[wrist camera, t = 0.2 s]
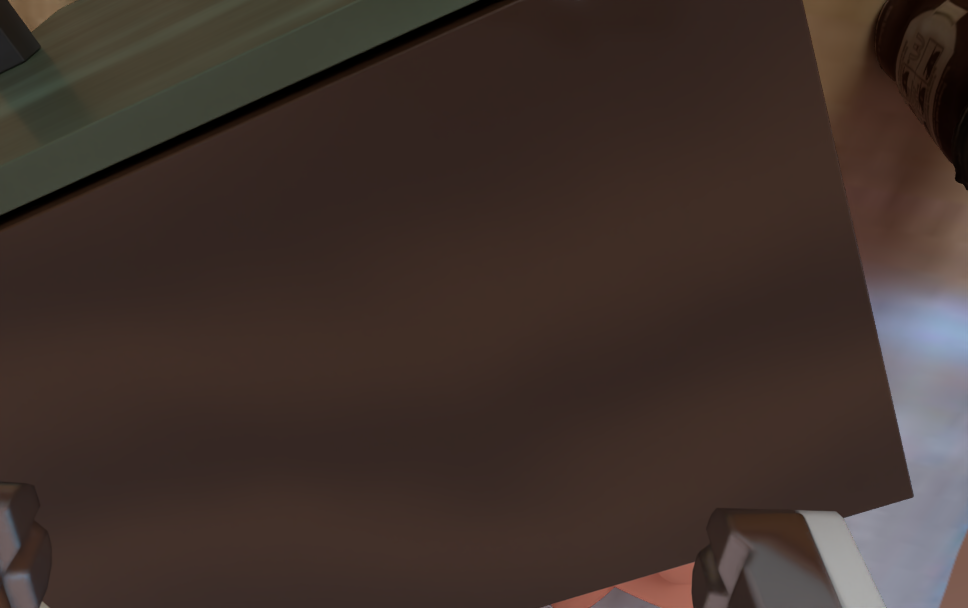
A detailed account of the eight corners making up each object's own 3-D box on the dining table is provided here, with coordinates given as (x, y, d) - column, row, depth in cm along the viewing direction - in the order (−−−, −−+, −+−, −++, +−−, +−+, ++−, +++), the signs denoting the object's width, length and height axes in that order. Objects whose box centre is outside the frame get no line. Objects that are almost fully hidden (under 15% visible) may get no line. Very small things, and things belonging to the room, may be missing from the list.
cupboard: (76, 34, 41) (-256, 345, 22) (601, -224, 36) (777, -116, 17) (279, 322, 51) (173, 716, 31) (717, 151, 46) (915, 497, 26)
